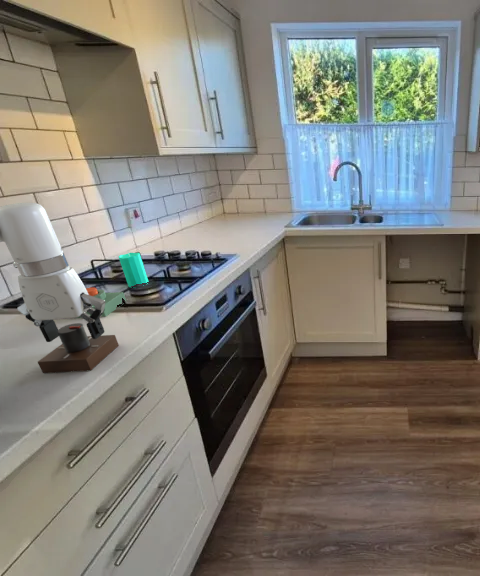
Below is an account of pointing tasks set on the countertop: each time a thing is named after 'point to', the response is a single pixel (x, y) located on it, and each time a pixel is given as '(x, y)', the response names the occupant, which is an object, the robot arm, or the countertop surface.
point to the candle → (133, 268)
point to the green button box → (109, 301)
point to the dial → (73, 337)
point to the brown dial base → (79, 356)
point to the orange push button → (92, 291)
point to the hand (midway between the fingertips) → (76, 337)
